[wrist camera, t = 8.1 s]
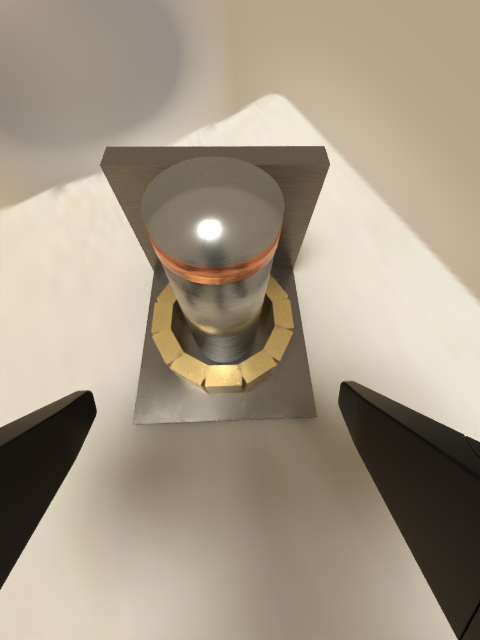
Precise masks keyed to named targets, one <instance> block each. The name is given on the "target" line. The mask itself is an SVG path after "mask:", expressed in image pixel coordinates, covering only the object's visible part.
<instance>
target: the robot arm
mask: <svg viewBox="0 0 480 640" xmlns="http://www.w3.org/2000/svg"><path fill="white" fill-rule="evenodd" d="M338 404H339V408H340V410H341V413H342V415H343V418H344V420H345V422H346V425H347V427H348V430H349V432H350V435H351V437H352V440H353V442H354V444H355V447H356V448H357V450H358V452H359V454H360V456H361V458H362V460H363V462H364V464H365V466H366V468H367V469H368V471H369V473H370V475H371V477H372V479H373V481H374V483H375V485H376V486H377V488H378V490H379V492H380V494H381V496H382V498H383V500H384V501H385V503H386V505H387V507H388V509H389V511H390V513H391V515H392V517H393V518H394V520H395V522H396V524H397V526H398V528H399V530H400V532H401V534H402V535H403V537H404V539H405V541H406V543H407V545H408V547H409V549H410V550H411V552H412V554H413V556H414V558H415V560H416V562H417V564H418V566H419V567H420V569H421V571H422V573H423V575H424V577H425V579H426V581H427V582H428V584H429V586H430V588H431V590H432V592H433V594H434V596H435V598H436V599H437V601H438V603H439V605H440V607H441V609H442V611H443V613H444V615H445V616H446V618H447V620H448V622H449V624H450V626H451V628H452V630H453V631H454V633H455V635H456V637H457V639H458V640H480V442H478V441H476V440H474V439H472V438H470V437H468V436H464V434H462V433H460V432H458V431H456V430H453V429H451V428H449V427H447V426H445V425H443V424H441V423H439V422H437V421H435V420H433V419H431V418H429V417H427V416H424V415H422V414H420V413H418V412H416V411H414V410H412V409H410V408H408V407H406V406H404V405H402V404H400V403H398V402H396V401H393V400H391V399H389V398H387V397H385V396H383V395H381V394H379V393H377V392H375V391H373V390H371V389H369V388H367V387H365V386H362V385H360V384H358V383H356V382H354V381H344V382H342V383H341V385H340V392H339V399H338ZM96 413H97V409H96V405H95V401H94V397H93V394H92V392H91V391H89V390H85V391H76V392H74V393H72V394H70V395H68V396H66V397H64V398H62V399H59V400H57V401H55V402H53V403H51V404H49V405H47V406H45V407H43V408H41V409H38V410H36V411H34V412H32V413H30V414H28V415H26V416H24V417H22V418H20V419H17V420H15V421H13V422H11V423H9V424H7V425H5V426H3V427H1V428H0V589H1V588H2V586H3V584H4V583H5V581H6V579H7V577H8V576H9V574H10V572H11V570H12V569H13V567H14V565H15V564H16V562H17V560H18V558H19V557H20V555H21V553H22V552H23V550H24V548H25V546H26V545H27V543H28V541H29V539H30V538H31V536H32V534H33V533H34V531H35V529H36V527H37V526H38V524H39V522H40V520H41V519H42V517H43V515H44V514H45V512H46V510H47V508H48V507H49V505H50V503H51V501H52V500H53V498H54V496H55V495H56V493H57V491H58V489H59V488H60V486H61V484H62V482H63V481H64V479H65V477H66V476H67V474H68V472H69V470H70V469H71V467H72V465H73V463H74V462H75V460H76V458H77V456H78V454H79V452H80V450H81V447H82V445H83V443H84V441H85V439H86V437H87V434H88V432H89V430H90V428H91V426H92V424H93V421H94V419H95V417H96Z"/></svg>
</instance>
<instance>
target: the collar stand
mask: <svg viewBox="0 0 480 640" xmlns="http://www.w3.org/2000/svg"><path fill="white" fill-rule="evenodd" d="M200 157H228V158H234V159H238V160H242V161H245V162H248V163H251V164H253V165H255V166H257V167H259V168H260V169H262V170H264V171H265V172H266V173H267V174H269V175H270V176H271V177H272V178H273V179H274V180H275V181H276V183H277V184H278V185H279V187H280V189H281V191H282V194H283V197H284V203H285V209H284V215H283V224H282V229H281V233H280V237H279V241H278V245H277V249H276V251H275V254H274V258H273V262H272V267H271V271H270V275H269V280H268V284H267V288H266V293H265V297H264V301H263V306H262V310H261V314H260V319H259V323H258V327H257V332H256V336H255V340H254V343H253V346H252V348H251V349H250V351H249V352H248V353H247V354H246V355H245V356H243V357H242V358H240V359H238V360H236V361H233V362H227V363H222V362H216V361H213V360H211V359H209V358H207V357H206V356H205V355H203V353H202V352H201V351H200V350H199V348H198V346H197V344H196V342H195V340H194V337H193V335H192V333H191V330H190V328H189V326H188V323H187V321H186V319H185V316H184V314H183V312H182V309H181V307H180V305H179V302H178V300H177V298H176V296H175V293H174V291H173V289H172V286H171V284H170V282H169V279H168V277H167V275H166V272H165V270H164V268H163V265H162V263H161V261H160V259H159V258H158V256H157V254H156V252H155V250H154V247H153V245H152V243H151V241H150V238H149V236H148V234H147V231H146V228H145V224H144V221H143V218H142V214H141V201H142V196H143V194H144V192H145V190H146V188H147V186H148V185H149V184H150V182H151V181H152V180H153V179H154V178H155V177H156V176H157V175H158V174H160V173H161V172H162V171H164V170H165V169H167V168H169V167H171V166H173V165H175V164H177V163H180V162H183V161H186V160H190V159H194V158H200ZM100 166H101V168H102V170H103V172H104V174H105V176H106V178H107V180H108V182H109V184H110V186H111V188H112V190H113V192H114V194H115V196H116V198H117V200H118V202H119V204H120V205H121V207H122V209H123V211H124V213H125V215H126V217H127V219H128V221H129V223H130V225H131V227H132V229H133V231H134V233H135V235H136V237H137V239H138V241H139V243H140V245H141V247H142V249H143V251H144V253H145V255H146V257H147V259H148V260H149V262H150V264H151V266H152V268H153V270H154V276H153V284H152V291H151V298H150V305H149V312H148V320H147V327H146V334H145V341H144V348H143V355H142V363H141V370H140V377H139V384H138V391H137V398H136V406H135V413H134V420H133V424H157V423H181V422H206V421H230V420H255V419H279V418H304V417H317V415H316V409H315V403H314V397H313V391H312V385H311V378H310V372H309V366H308V360H307V354H306V347H305V341H304V335H303V329H302V323H301V317H300V310H299V304H298V298H297V292H296V286H295V280H294V273H293V267H294V264H295V261H296V258H297V256H298V253H299V250H300V247H301V244H302V242H303V239H304V236H305V233H306V230H307V228H308V225H309V222H310V219H311V216H312V214H313V211H314V208H315V205H316V202H317V200H318V197H319V194H320V191H321V188H322V186H323V183H324V180H325V177H326V174H327V172H328V169H329V166H330V162H329V159H328V156H327V153H326V150H325V146H245V147H106V149H105V152H104V155H103V159H102V161H101V164H100Z"/></svg>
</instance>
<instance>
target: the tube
mask: <svg viewBox="0 0 480 640" xmlns="http://www.w3.org/2000/svg"><path fill="white" fill-rule="evenodd" d="M284 209H285V203H284V197H283V194H282V191H281V189H280V187H279V185H278V184H277V183H276V181H275V180H274V179H273V178H272V177H271V176H270V175H269V174H267V173H266V172H265V171H264V170H262V169H260V168H259V167H257V166H255V165H253V164H251V163H248V162H245V161H242V160H238V159H234V158H228V157H200V158H194V159H190V160H186V161H183V162H180V163H177V164H175V165H173V166H171V167H169V168H167V169H165V170H164V171H162V172H161V173H160V174H158V175H157V176H156V177H155V178H154V179H153V180H152V181H151V182H150V184H149V185H148V186H147V188H146V190H145V192H144V194H143V196H142V201H141V214H142V218H143V221H144V224H145V228H146V231H147V234H148V236H149V238H150V241H151V243H152V245H153V247H154V250H155V252H156V254H157V256H158V258H159V259H160V261H161V263H162V265H163V268H164V270H165V272H166V275H167V277H168V279H169V282H170V284H171V286H172V289H173V291H174V293H175V296H176V298H177V300H178V302H179V305H180V307H181V309H182V312H183V314H184V316H185V319H186V321H187V323H188V326H189V328H190V330H191V333H192V335H193V337H194V340H195V342H196V344H197V346H198V348H199V350H200V351H201V352H202V353H203V355H205V356H206V357H207V358H209V359H211V360H213V361H216V362H222V363H227V362H233V361H236V360H238V359H240V358H242V357H243V356H245V355H246V354H247V353H248V352H249V351H250V349H251V348H252V346H253V343H254V340H255V336H256V332H257V327H258V323H259V319H260V314H261V310H262V306H263V301H264V297H265V293H266V288H267V284H268V280H269V275H270V271H271V267H272V262H273V258H274V254H275V251H276V249H277V245H278V241H279V237H280V233H281V229H282V224H283V215H284Z"/></svg>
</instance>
